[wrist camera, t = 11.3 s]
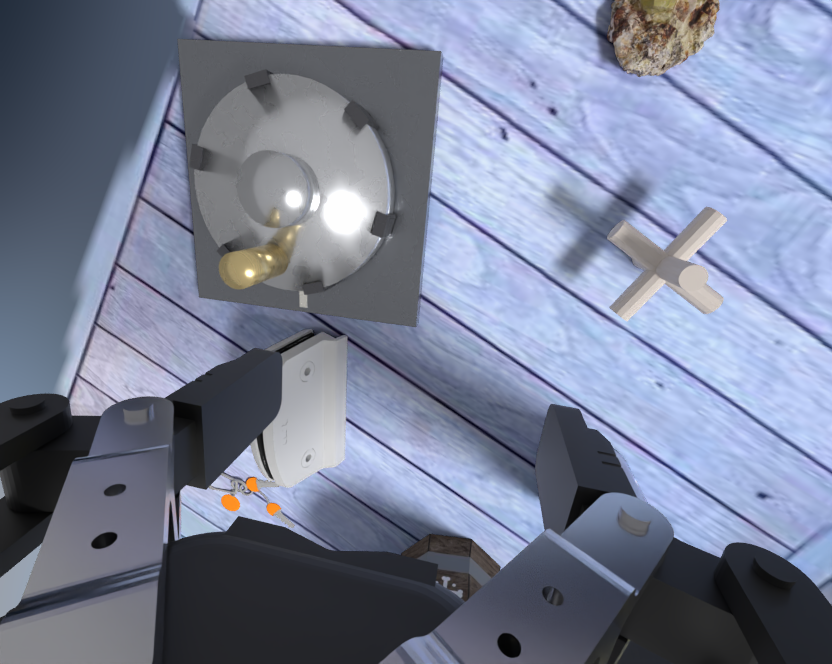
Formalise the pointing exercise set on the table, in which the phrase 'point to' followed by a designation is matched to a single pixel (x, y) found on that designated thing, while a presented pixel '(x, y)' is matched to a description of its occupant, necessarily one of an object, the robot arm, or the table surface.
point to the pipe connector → (668, 265)
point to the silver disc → (292, 184)
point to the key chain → (254, 486)
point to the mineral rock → (659, 32)
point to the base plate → (398, 128)
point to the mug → (456, 563)
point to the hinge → (306, 410)
